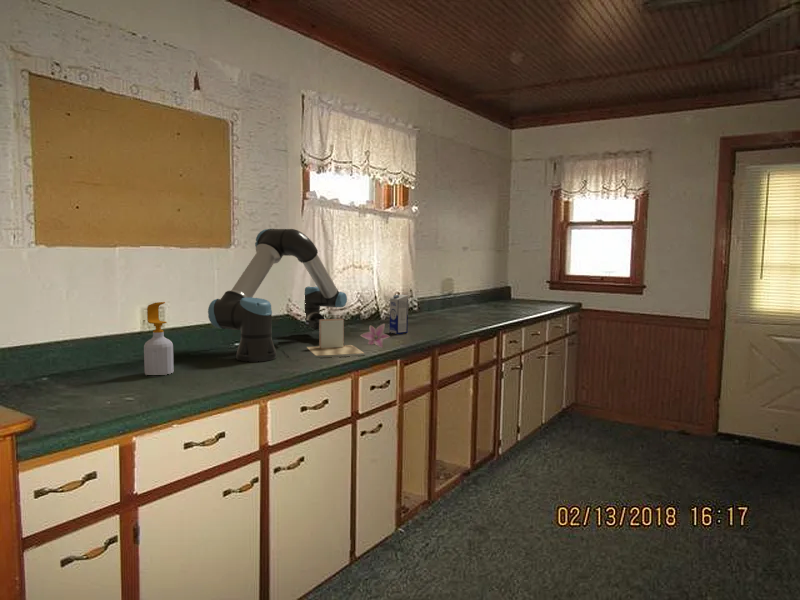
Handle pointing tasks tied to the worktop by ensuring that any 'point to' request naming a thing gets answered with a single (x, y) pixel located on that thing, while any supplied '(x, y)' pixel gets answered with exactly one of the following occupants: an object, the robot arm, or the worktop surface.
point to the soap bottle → (157, 346)
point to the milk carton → (399, 314)
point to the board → (335, 351)
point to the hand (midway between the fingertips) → (326, 327)
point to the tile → (331, 333)
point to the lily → (375, 335)
